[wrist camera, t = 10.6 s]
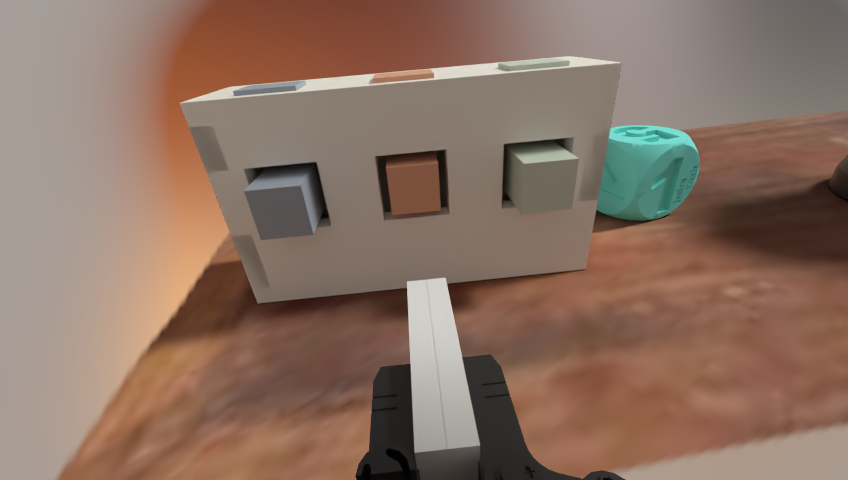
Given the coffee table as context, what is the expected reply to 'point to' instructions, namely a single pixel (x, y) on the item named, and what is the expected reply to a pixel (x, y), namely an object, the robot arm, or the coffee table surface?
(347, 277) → the button box
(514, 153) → the sage button
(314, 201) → the slate button
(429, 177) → the terracotta button
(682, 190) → the decorative dice
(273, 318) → the coffee table surface
